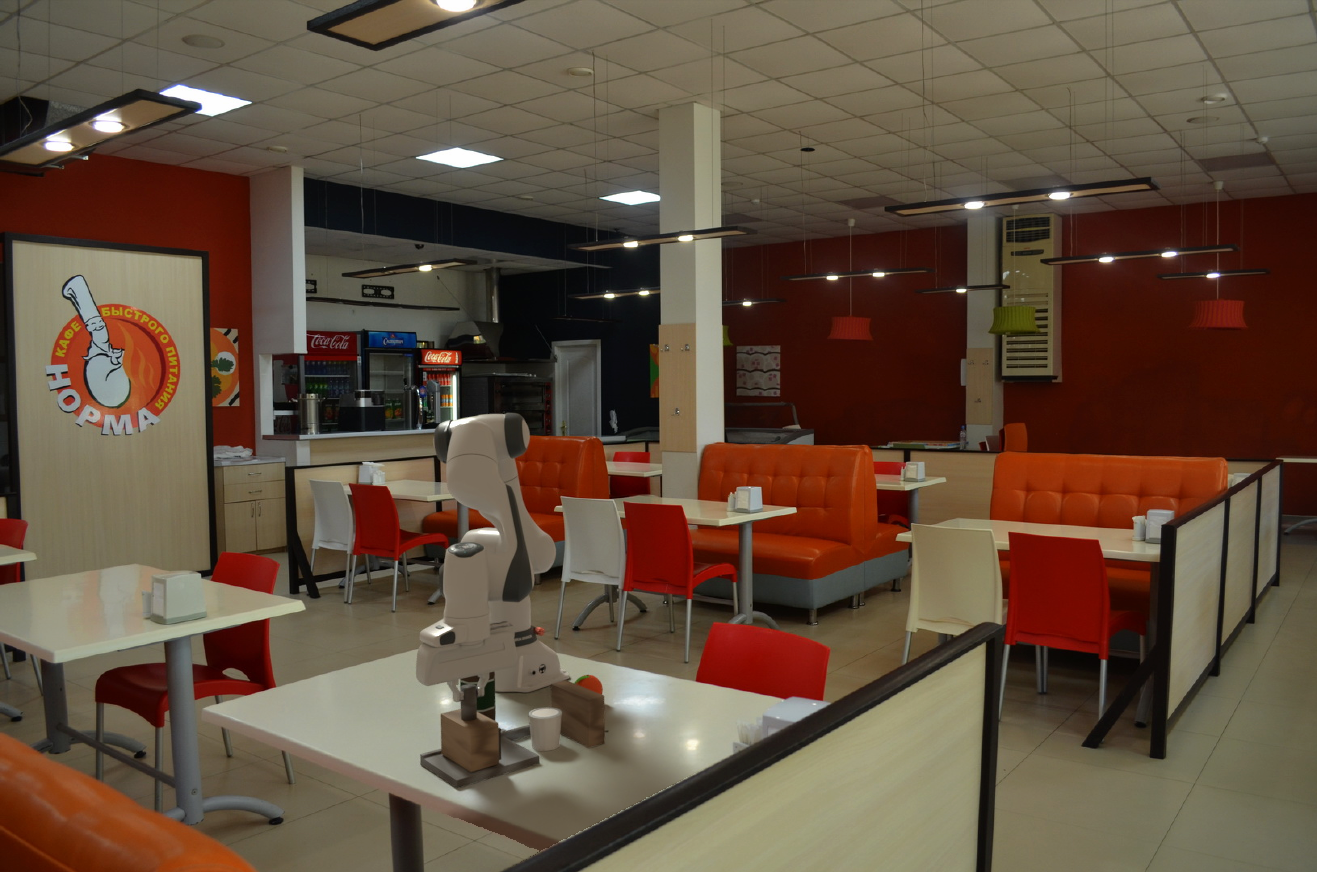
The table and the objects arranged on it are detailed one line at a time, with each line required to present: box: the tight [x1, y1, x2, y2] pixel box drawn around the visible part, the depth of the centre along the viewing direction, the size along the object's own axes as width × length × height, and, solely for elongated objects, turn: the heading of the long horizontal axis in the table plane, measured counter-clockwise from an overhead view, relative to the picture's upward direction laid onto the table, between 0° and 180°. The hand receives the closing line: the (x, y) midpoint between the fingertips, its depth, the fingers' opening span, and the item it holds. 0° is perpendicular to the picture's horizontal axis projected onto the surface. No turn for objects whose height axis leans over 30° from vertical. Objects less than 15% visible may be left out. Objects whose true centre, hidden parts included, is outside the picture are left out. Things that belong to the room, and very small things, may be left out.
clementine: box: [573, 674, 604, 695], centre depth 220 cm, size 8×7×7 cm
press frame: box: [419, 679, 606, 789], centre depth 191 cm, size 34×15×10 cm, turn 130°
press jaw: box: [440, 684, 502, 772], centre depth 184 cm, size 7×12×14 cm, turn 40°
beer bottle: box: [459, 671, 497, 721], centre depth 206 cm, size 8×8×24 cm
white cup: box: [528, 706, 562, 752], centre depth 195 cm, size 7×7×7 cm
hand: (468, 698), depth 183 cm, fingers closed on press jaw, 3 cm apart
